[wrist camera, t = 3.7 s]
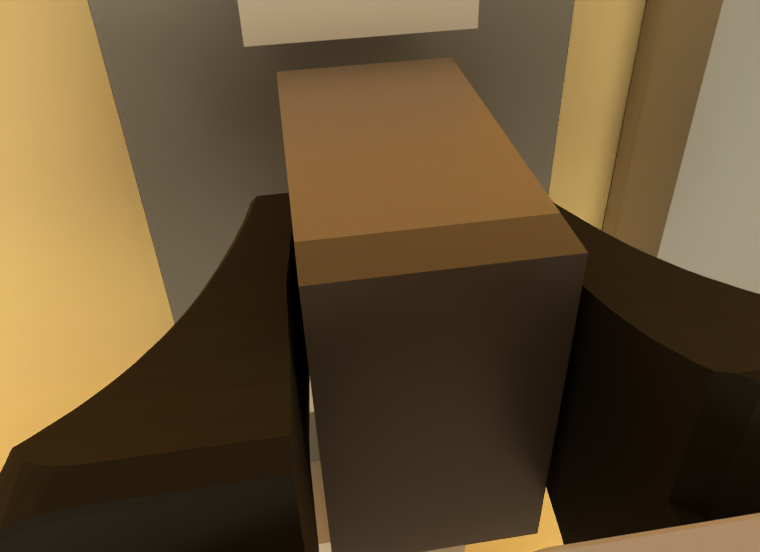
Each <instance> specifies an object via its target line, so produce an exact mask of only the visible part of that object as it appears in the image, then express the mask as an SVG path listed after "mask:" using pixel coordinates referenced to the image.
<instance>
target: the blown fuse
mask: <svg viewBox="0 0 760 552" xmlns="http://www.w3.org/2000/svg"><path fill="white" fill-rule="evenodd" d="M276 73H277V83H278V92H279V102H280V112H281V121H282V131H283V140H284V150H285V160H286V169H287V179H288V189H289V198H290V208H291V217H292V227H293V237H294V246H295V256H296V266H297V275H298V285H299V293H300V301H301V309H302V317H303V325H304V333H305V342H306V350H307V358H308V366H309V374H310V382H311V390H312V398H313V406H314V414H315V422H316V430H317V438H318V446H319V454H320V462H321V470H322V478H323V487H324V495H325V503H326V511H327V519H328V527H329V535H330V543H331V551H332V552H424V551H430V550H436V549H442V548H449V547H455V546H461V545H467V544H474V543H480V542H486V541H492V540H498V539H505V538H511V537H517V536H523V535H530V534H536V533H537V532H538V526H539V521H540V515H541V510H542V504H543V499H544V493H545V488H546V482H547V477H548V471H549V466H550V460H551V455H552V449H553V444H554V438H555V433H556V427H557V422H558V416H559V411H560V405H561V400H562V394H563V389H564V383H565V378H566V372H567V367H568V361H569V356H570V350H571V345H572V339H573V334H574V328H575V323H576V317H577V312H578V306H579V301H580V295H581V290H582V284H583V279H584V273H585V268H586V262H587V257H588V252H587V250H586V249H585V247H584V246H583V244H582V243H581V242H580V240H579V239H578V237H577V236H576V234H575V233H574V232H573V230H572V229H571V227H570V226H569V224H568V223H567V222H566V220H565V219H564V217H563V216H562V214H561V213H560V212H559V210H558V209H557V207H556V206H555V204H554V203H553V202H552V200H551V199H550V197H549V196H548V194H547V193H546V191H545V190H544V189H543V187H542V186H541V184H540V183H539V181H538V180H537V179H536V177H535V176H534V174H533V173H532V171H531V170H530V169H529V167H528V166H527V164H526V163H525V161H524V160H523V159H522V157H521V156H520V154H519V153H518V151H517V150H516V149H515V147H514V146H513V144H512V143H511V141H510V140H509V139H508V137H507V136H506V134H505V133H504V131H503V130H502V129H501V127H500V126H499V124H498V123H497V121H496V120H495V119H494V117H493V116H492V114H491V113H490V111H489V110H488V108H487V107H486V106H485V104H484V103H483V101H482V100H481V98H480V97H479V96H478V94H477V93H476V91H475V90H474V88H473V87H472V86H471V84H470V83H469V81H468V80H467V78H466V77H465V76H464V74H463V73H462V71H461V70H460V68H459V67H458V66H457V64H456V63H455V61H454V60H453V58H452V57H446V58H434V59H422V60H410V61H398V62H386V63H374V64H362V65H350V66H338V67H326V68H314V69H302V70H290V71H278V72H276Z"/></svg>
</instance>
